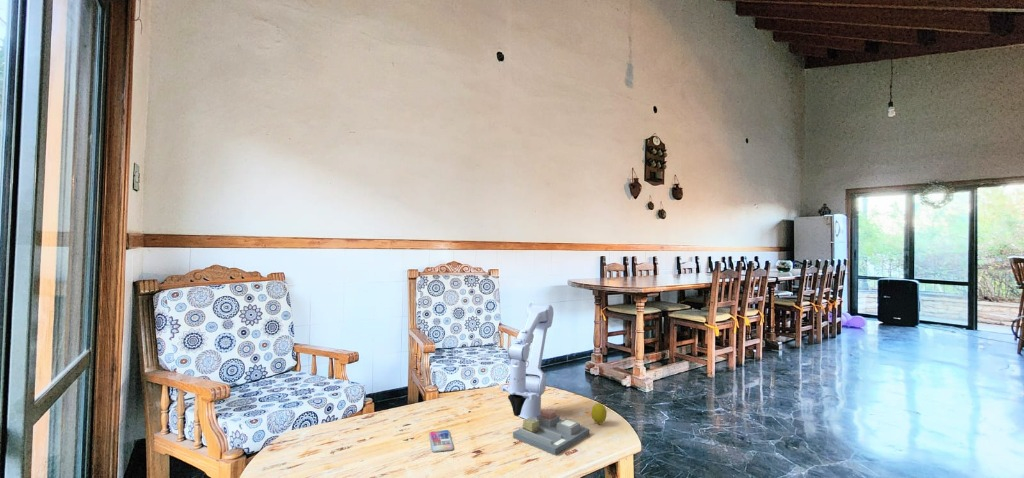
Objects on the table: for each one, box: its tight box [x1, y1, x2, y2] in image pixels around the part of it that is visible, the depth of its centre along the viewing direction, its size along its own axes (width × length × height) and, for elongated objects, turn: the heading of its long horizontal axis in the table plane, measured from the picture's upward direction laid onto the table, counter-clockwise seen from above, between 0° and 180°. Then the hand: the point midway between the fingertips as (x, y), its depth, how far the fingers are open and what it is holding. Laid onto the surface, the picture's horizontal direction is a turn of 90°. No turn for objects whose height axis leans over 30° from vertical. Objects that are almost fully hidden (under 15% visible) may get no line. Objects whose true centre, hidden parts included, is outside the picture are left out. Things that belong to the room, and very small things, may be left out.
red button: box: [541, 408, 557, 420], centre depth 161 cm, size 4×4×2 cm
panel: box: [512, 414, 591, 456], centre depth 154 cm, size 18×21×4 cm
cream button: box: [561, 419, 577, 427], centre depth 155 cm, size 4×4×2 cm
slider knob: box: [522, 417, 539, 433], centre depth 153 cm, size 4×4×4 cm
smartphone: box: [428, 429, 455, 454], centre depth 148 cm, size 7×1×15 cm
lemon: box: [591, 402, 607, 425], centre depth 165 cm, size 6×6×8 cm
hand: (517, 415), depth 157 cm, fingers closed
